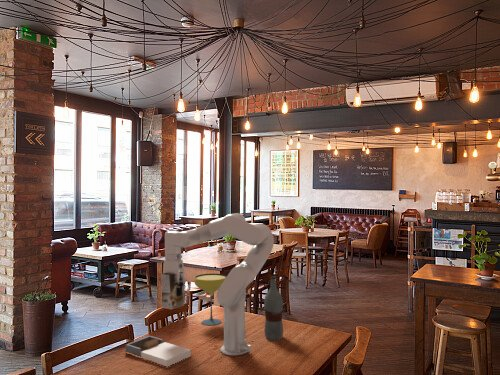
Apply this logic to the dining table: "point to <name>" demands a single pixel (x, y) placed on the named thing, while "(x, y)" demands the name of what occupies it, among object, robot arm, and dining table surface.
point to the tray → (134, 346)
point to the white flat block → (166, 354)
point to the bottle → (273, 312)
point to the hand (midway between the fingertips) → (173, 294)
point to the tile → (149, 344)
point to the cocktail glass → (210, 290)
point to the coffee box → (171, 292)
